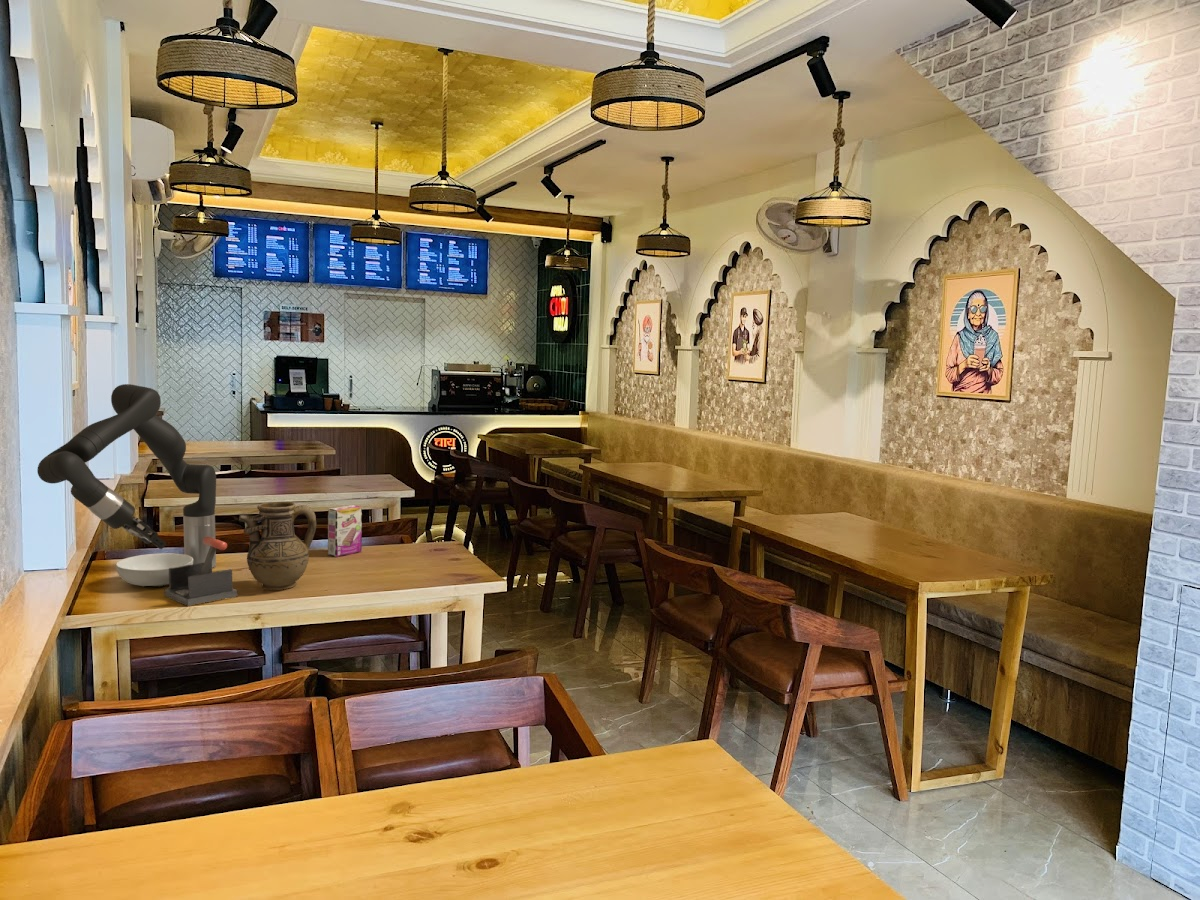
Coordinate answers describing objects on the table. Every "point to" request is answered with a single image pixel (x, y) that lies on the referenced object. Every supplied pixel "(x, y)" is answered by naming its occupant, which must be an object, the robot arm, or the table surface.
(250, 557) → the decorative pitcher
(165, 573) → the serving bowl
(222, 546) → the switch lever
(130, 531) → the robot arm
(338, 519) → the candy bar box
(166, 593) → the switch box
